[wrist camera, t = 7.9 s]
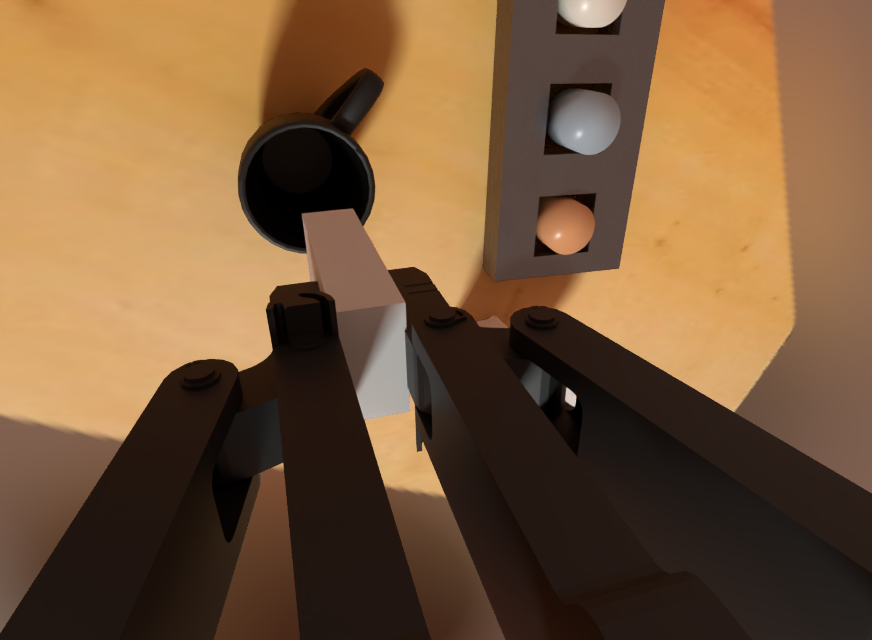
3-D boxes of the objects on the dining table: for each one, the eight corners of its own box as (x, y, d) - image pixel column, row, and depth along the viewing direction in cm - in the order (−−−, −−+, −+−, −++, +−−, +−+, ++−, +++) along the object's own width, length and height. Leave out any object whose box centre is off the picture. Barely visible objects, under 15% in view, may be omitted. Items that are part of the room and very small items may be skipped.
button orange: (530, 193, 49) (549, 205, 46) (577, 190, 50) (598, 201, 47) (526, 242, 51) (543, 256, 48) (570, 238, 52) (590, 252, 49)
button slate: (548, 87, 44) (570, 92, 41) (599, 87, 45) (625, 92, 42) (542, 147, 46) (563, 156, 43) (591, 145, 47) (615, 153, 44)
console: (501, -83, 40) (519, -90, 37) (652, -73, 43) (678, -78, 40) (482, 268, 52) (494, 281, 49) (601, 256, 55) (619, 268, 52)
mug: (402, 104, 43) (438, 123, 35) (313, 232, 46) (327, 277, 38) (309, 28, 40) (325, 29, 31) (217, 172, 42) (210, 208, 34)
